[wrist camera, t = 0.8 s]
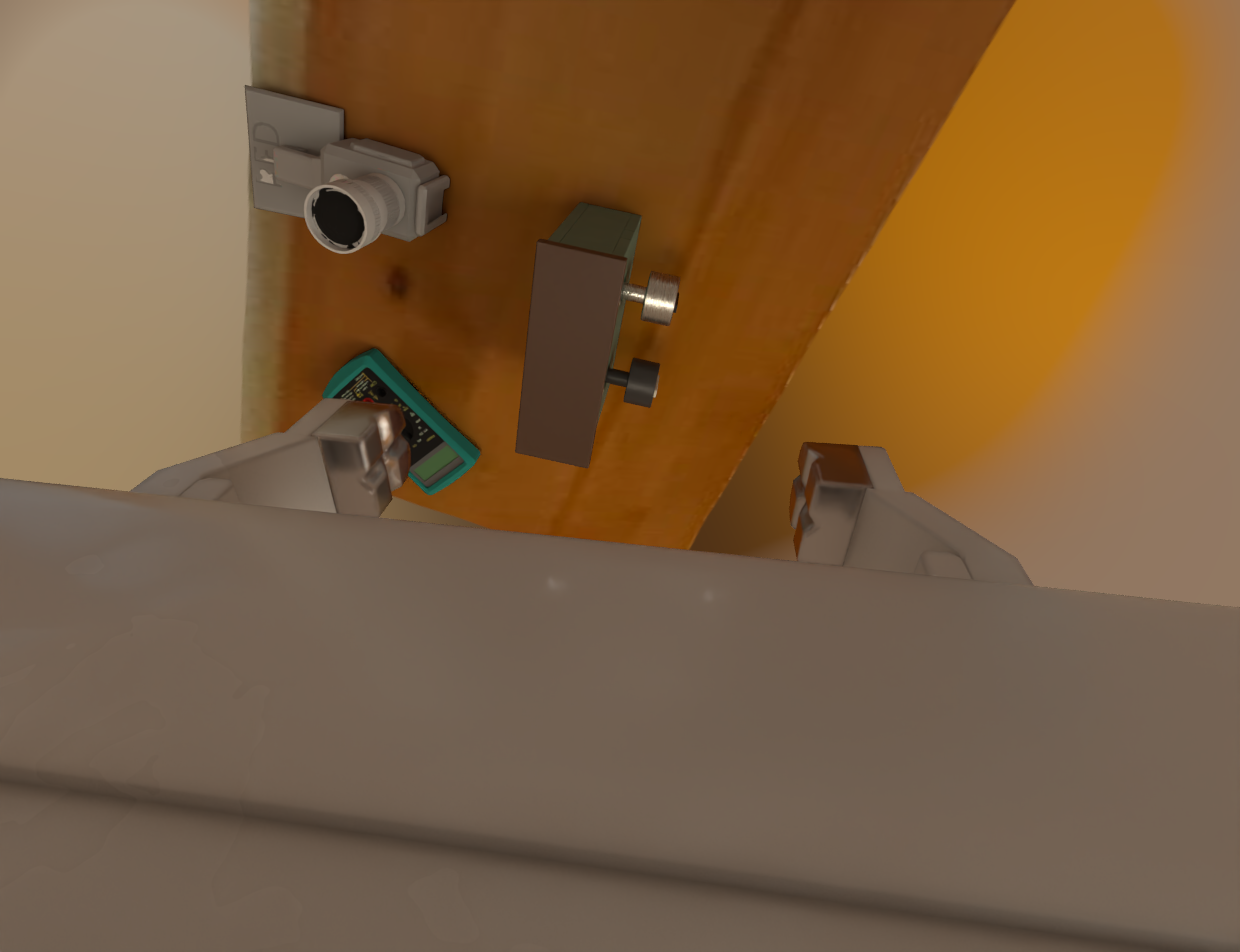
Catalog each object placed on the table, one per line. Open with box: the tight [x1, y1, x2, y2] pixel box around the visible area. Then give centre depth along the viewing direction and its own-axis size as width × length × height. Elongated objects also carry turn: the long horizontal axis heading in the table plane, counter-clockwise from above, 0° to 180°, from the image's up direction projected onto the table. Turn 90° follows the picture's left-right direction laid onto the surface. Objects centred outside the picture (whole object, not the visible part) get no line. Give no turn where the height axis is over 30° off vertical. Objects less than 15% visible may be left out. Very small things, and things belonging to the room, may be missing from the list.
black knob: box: [605, 358, 660, 408], centre depth 51 cm, size 6×4×4 cm, turn 80°
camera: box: [245, 85, 450, 254], centre depth 46 cm, size 9×12×15 cm
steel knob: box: [621, 271, 680, 326], centre depth 47 cm, size 6×4×4 cm, turn 80°
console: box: [515, 202, 642, 468], centre depth 49 cm, size 6×16×14 cm, turn 170°
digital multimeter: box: [322, 348, 480, 495], centre depth 62 cm, size 7×15×3 cm, turn 39°
